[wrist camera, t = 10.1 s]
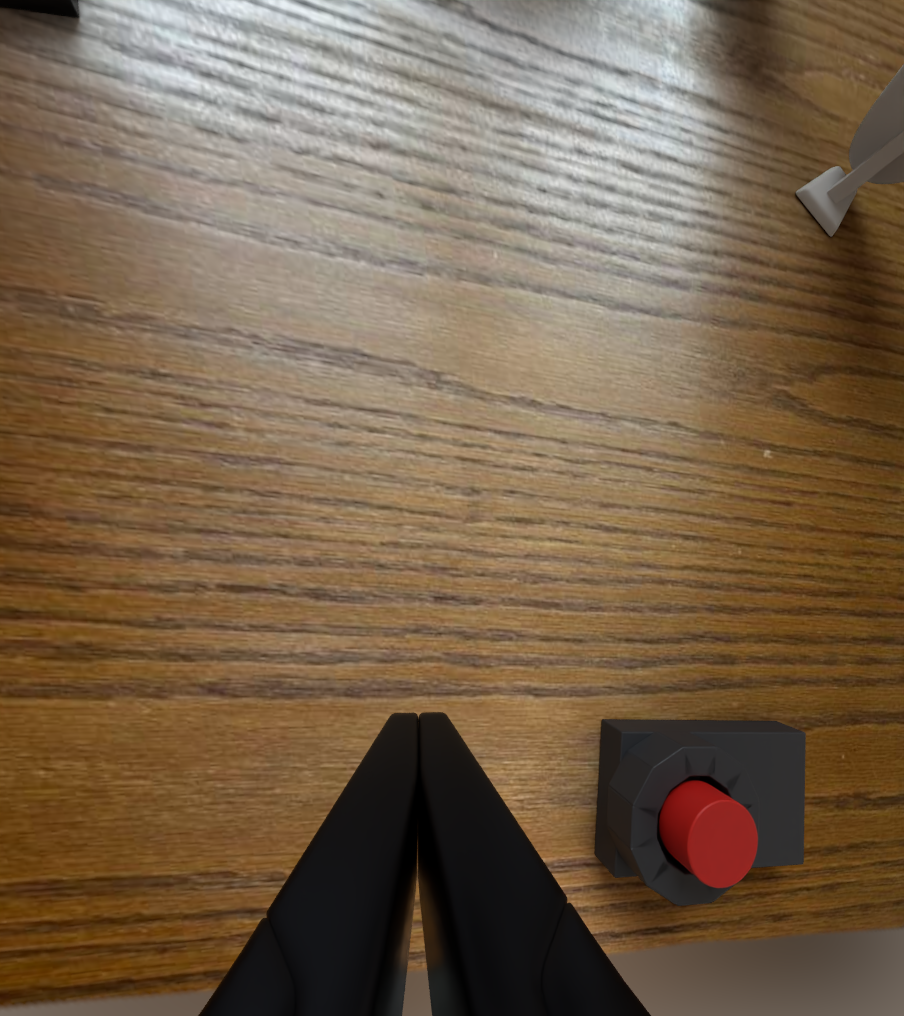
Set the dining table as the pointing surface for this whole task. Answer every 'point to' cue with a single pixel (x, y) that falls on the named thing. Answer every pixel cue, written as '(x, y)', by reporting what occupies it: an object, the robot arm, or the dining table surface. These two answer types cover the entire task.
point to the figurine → (862, 159)
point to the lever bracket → (45, 6)
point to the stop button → (708, 833)
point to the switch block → (705, 757)
